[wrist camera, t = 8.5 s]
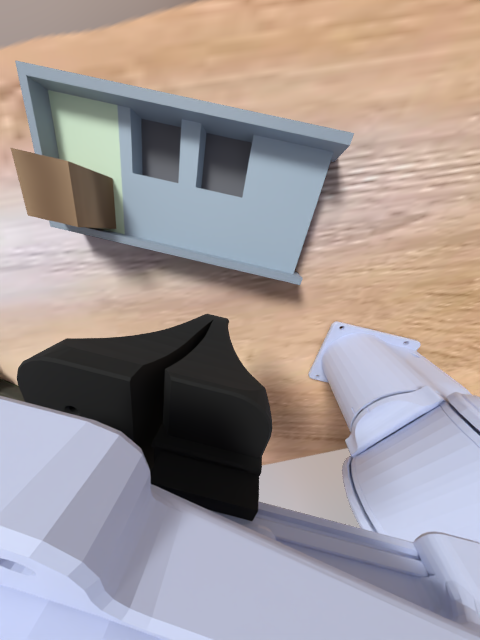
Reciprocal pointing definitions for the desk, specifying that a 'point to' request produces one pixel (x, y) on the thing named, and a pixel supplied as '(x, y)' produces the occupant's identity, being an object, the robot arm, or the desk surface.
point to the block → (65, 191)
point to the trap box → (187, 168)
